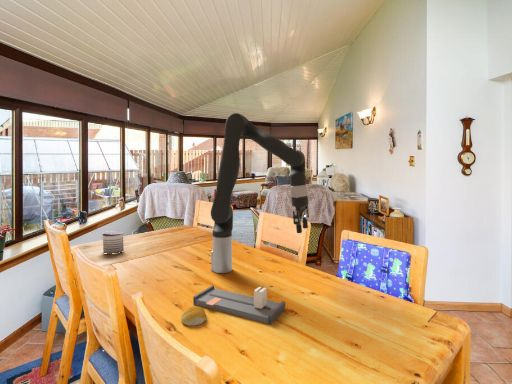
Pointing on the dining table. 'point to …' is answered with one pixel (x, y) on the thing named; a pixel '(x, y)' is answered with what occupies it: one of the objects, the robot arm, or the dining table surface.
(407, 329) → the dining table surface
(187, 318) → the bread roll
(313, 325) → the dining table surface
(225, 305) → the fader board
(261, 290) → the fader cap
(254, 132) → the robot arm
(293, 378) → the dining table surface
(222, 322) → the dining table surface
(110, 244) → the can
